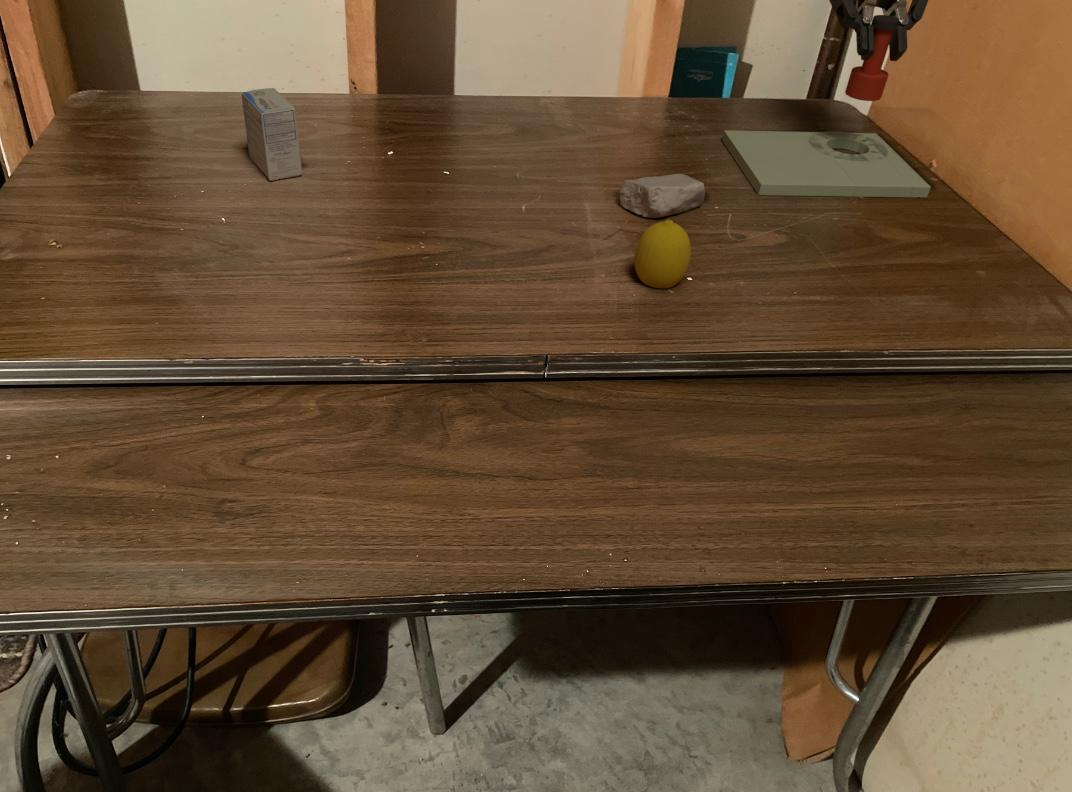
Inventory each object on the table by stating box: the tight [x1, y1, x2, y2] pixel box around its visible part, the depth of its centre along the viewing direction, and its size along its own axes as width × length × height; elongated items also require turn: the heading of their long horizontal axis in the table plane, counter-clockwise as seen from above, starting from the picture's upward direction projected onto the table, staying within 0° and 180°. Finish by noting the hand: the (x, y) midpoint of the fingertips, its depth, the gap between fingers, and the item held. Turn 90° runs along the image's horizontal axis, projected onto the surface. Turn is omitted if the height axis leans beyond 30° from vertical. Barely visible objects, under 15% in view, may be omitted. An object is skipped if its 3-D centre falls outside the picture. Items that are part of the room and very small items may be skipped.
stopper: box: [844, 14, 900, 102], centre depth 118 cm, size 5×5×10 cm
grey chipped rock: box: [619, 173, 706, 219], centre depth 110 cm, size 10×6×6 cm, turn 109°
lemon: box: [634, 219, 692, 290], centre depth 93 cm, size 6×6×8 cm
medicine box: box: [241, 87, 303, 182], centre depth 113 cm, size 8×4×9 cm, turn 28°
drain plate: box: [721, 129, 932, 199], centre depth 122 cm, size 22×18×2 cm
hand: (882, 57), depth 116 cm, fingers closed on stopper, 3 cm apart
